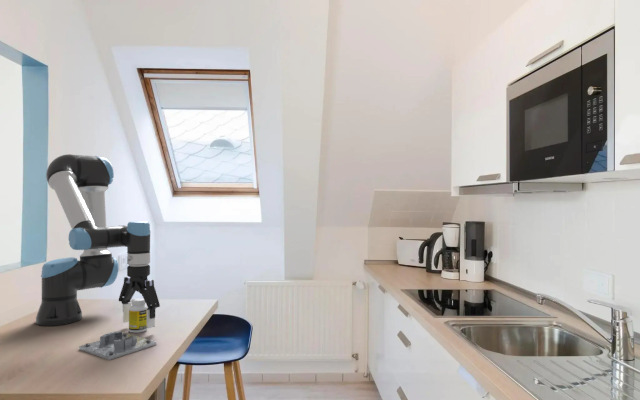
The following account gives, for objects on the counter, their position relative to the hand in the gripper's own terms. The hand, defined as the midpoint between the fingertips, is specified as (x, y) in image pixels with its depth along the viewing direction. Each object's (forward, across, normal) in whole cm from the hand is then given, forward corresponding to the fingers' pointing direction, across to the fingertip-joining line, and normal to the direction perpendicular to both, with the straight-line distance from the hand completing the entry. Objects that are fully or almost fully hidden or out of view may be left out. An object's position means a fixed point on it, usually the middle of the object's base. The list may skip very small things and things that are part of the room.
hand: (138, 324), depth 154 cm
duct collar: (+2, +10, -14) cm, 17 cm away
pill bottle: (+2, 0, 0) cm, 2 cm away
